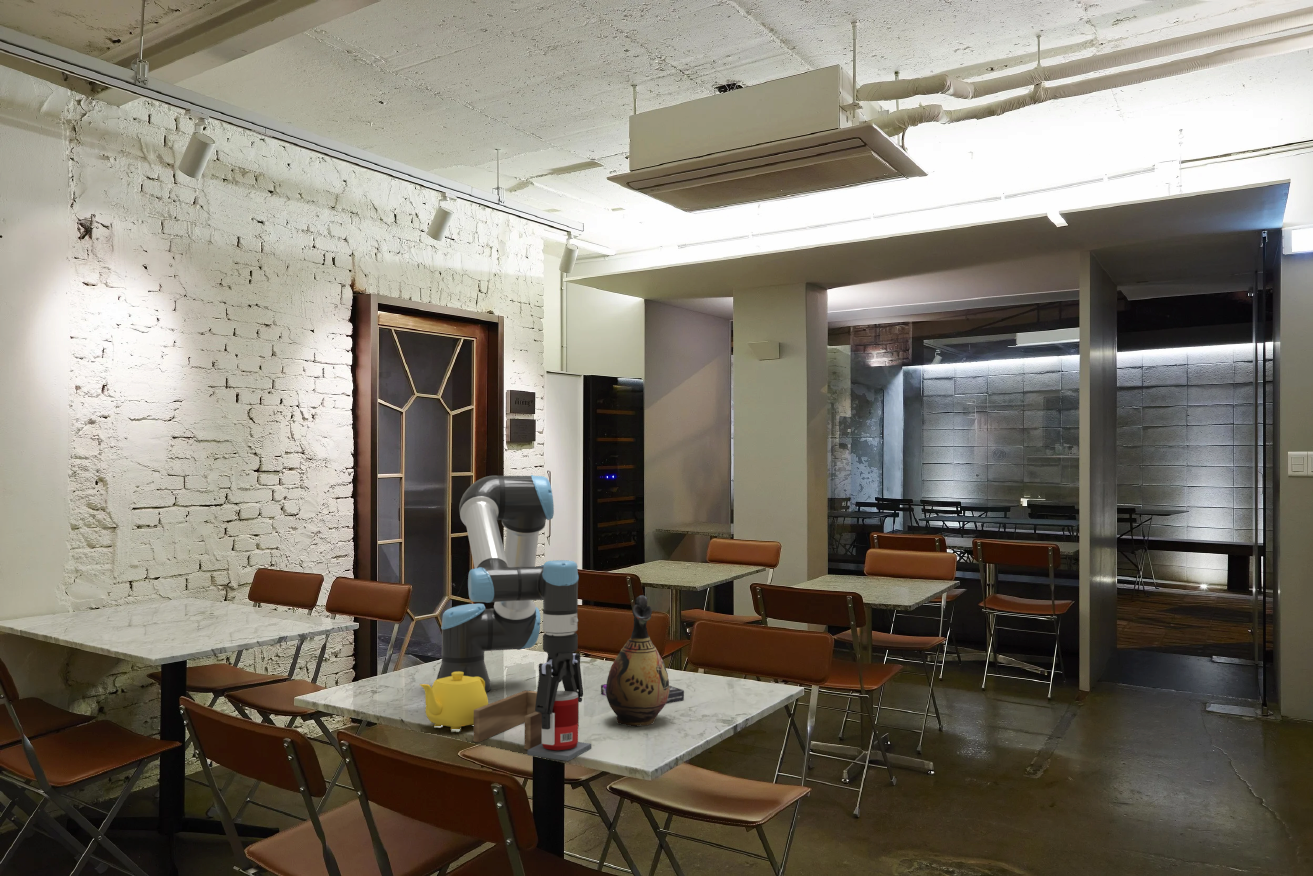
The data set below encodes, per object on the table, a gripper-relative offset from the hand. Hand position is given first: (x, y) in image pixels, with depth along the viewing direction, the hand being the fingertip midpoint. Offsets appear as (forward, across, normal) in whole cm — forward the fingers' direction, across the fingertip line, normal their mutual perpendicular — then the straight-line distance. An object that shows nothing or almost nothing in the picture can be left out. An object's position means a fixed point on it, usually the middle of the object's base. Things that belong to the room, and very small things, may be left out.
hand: (559, 738), depth 198 cm
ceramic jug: (+3, +30, -4) cm, 30 cm away
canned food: (+2, 0, 0) cm, 2 cm away
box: (+4, +52, +6) cm, 53 cm away
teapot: (+3, +6, +33) cm, 34 cm away
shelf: (+3, +9, +14) cm, 17 cm away
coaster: (+3, 0, 0) cm, 3 cm away
